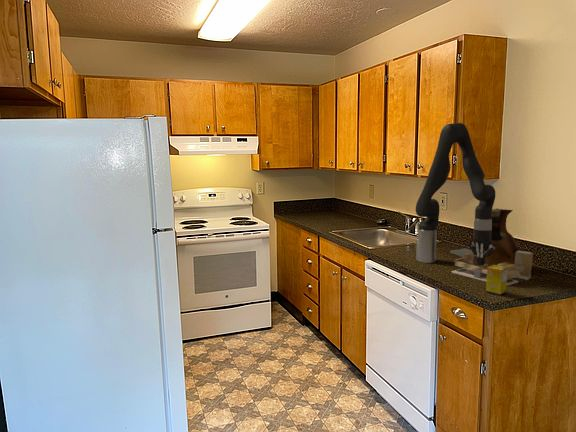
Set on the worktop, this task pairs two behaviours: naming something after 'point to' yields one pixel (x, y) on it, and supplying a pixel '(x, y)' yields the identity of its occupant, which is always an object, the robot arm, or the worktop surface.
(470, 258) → the block
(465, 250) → the soap mold
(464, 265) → the beam
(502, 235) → the ceramic pitcher
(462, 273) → the stand
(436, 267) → the worktop surface
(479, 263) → the robot arm
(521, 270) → the skincare box
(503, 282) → the supplement box
